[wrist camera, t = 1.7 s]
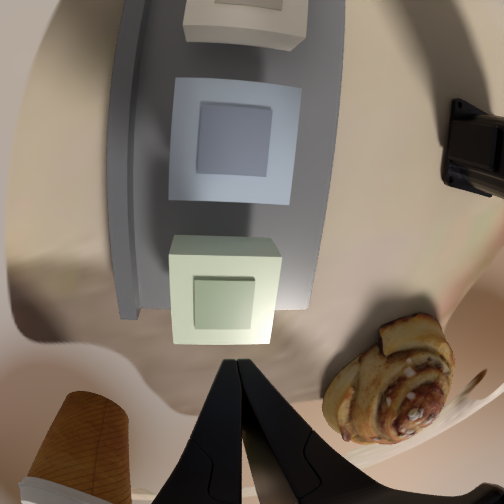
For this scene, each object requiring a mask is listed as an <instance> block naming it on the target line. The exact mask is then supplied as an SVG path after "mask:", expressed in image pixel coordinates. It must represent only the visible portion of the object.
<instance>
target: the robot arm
mask: <svg viewBox="0 0 504 504" xmlns="http://www.w3.org/2000/svg"><path fill="white" fill-rule="evenodd" d="M449 178H450V180H449ZM443 182H444V184H445V185H447V186H450V187H454V188H458V189H462V190H465V191H469V192H473V193H476V194H480V195H483V196H486V197H492V195H495V196H497V197H500V198H502V199H504V117H500V116H492V115H488V114H487V113H485V112H483V111H482V110H480V109H478V108H476V107H475V106H473V105H471V104H469V103H467V102H466V101H464V100H462V99H460V98H454V99H453V100H452V106H451V120H450V131H449V140H448V148H447V156H446V163H445V169H444V175H443ZM242 439H243V443H244V447H245V451H246V454H247V458H248V462H249V466H250V470H251V473H252V477H253V481H254V484H255V488H256V492H257V495H258V498H259V502H260V504H504V488H503V487H501V486H499V485H496V484H490V483H482V484H481V485H479V486H478V487H476V488H475V489H474V490H472V491H471V492H469V493H467V494H465V495H461V496H454V497H450V496H437V495H428V494H420V493H413V492H406V491H401V490H395V489H392V488H389V487H386V486H384V485H382V484H380V483H378V482H376V481H375V480H373V479H372V478H371V477H369V476H368V475H366V474H365V473H364V472H362V471H361V470H360V469H358V468H357V467H355V466H354V465H353V464H351V463H350V462H349V461H347V460H346V459H345V458H344V457H342V456H341V455H340V454H339V453H337V452H336V451H335V450H334V449H332V447H330V446H329V445H328V444H327V443H326V442H325V441H324V440H323V439H322V438H321V437H320V436H319V435H318V434H317V433H316V432H315V431H314V430H312V428H311V427H310V426H309V425H308V424H307V422H306V421H305V420H304V419H303V418H302V417H301V416H300V415H299V414H298V413H297V412H296V410H295V409H294V408H293V407H292V406H291V405H290V404H289V403H288V402H287V401H286V400H285V398H284V397H283V396H282V395H281V394H280V393H279V392H278V391H277V389H276V388H275V387H274V386H273V385H272V384H271V383H270V382H269V380H268V379H267V378H266V377H265V376H264V375H263V373H262V372H261V371H260V370H259V369H258V368H257V366H256V365H255V364H254V363H253V362H252V361H251V360H250V359H237V361H236V360H235V359H224V360H222V363H221V365H220V367H219V370H218V372H217V375H216V377H215V379H214V382H213V384H212V386H211V389H210V391H209V394H208V396H207V398H206V401H205V403H204V405H203V408H202V410H201V412H200V415H199V417H198V420H197V422H196V424H195V427H194V429H193V431H192V434H191V436H190V439H189V440H188V442H187V445H186V447H185V449H184V451H183V454H182V455H181V458H180V460H179V462H178V464H177V465H176V467H175V469H174V470H173V472H172V473H171V475H170V477H169V478H168V480H167V481H166V483H165V484H164V486H163V487H162V489H161V490H160V492H159V493H158V495H157V496H156V498H155V499H154V500H153V502H152V503H151V504H242Z"/></svg>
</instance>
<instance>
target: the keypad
mask: <svg viewBox="0 0 504 504" xmlns="http://www.w3.org/2000/svg"><path fill="white" fill-rule="evenodd" d="M186 2H187V0H125V4H124V8H123V13H122V18H121V23H120V28H119V33H118V39H117V45H116V51H115V58H114V65H113V73H112V82H111V91H110V103H109V117H108V137H107V197H108V218H109V233H110V245H111V255H112V264H113V273H114V281H115V288H116V295H117V301H118V308H119V314H120V319H126V320H138V316H139V313H140V310H141V308H147V309H171V299H170V278H169V252H170V248H171V245H172V241H173V238H174V235H202V236H236V237H266V238H272V240H273V242H274V244H275V245H276V247H277V249H278V250H279V252H280V254H281V256H282V263H281V270H280V277H279V284H278V291H277V298H276V304H275V310H297V309H308V305H309V300H310V296H311V291H312V286H313V281H314V276H315V271H316V265H317V260H318V255H319V249H320V244H321V238H322V232H323V226H324V220H325V214H326V208H327V201H328V195H329V188H330V181H331V174H332V166H333V159H334V151H335V142H336V134H337V125H338V115H339V105H340V94H341V81H342V68H343V52H344V31H345V0H308V16H307V31H306V38H305V39H304V40H303V41H302V42H300V43H299V44H298V45H297V46H296V47H295V48H293V49H292V50H291V51H285V50H279V49H272V48H265V47H257V46H248V45H238V44H226V43H209V42H186V38H185V33H184V29H183V19H184V13H185V8H186ZM176 78H214V79H230V80H242V81H252V82H261V83H269V84H277V85H284V86H291V87H297V88H302V92H301V103H300V113H299V123H298V133H297V142H296V151H295V160H294V169H293V178H292V186H291V195H290V203H289V205H279V204H262V203H243V202H220V201H189V200H168V198H169V162H170V142H171V126H172V112H173V100H174V89H175V79H176Z"/></svg>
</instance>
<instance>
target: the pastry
mask: <svg viewBox="0 0 504 504" xmlns="http://www.w3.org/2000/svg"><path fill="white" fill-rule="evenodd" d="M379 333H380V336H381V337H380V339H379V340H378V342H377V343H376V344H375V345H374V346H372V347H371V348H370V349H369V350H367V351H365V352H364V353H362V354H361V355H359V356H357V357H356V358H355V359H354V360H353V361H352V362H351V363H350V364H348V365H347V366H346V367H345V368H344V369H342V370H341V371H340V372H339V373H338V374H337V375H336V376H335V377H334V379H333V380H332V382H331V383H330V385H329V387H328V388H327V390H326V392H325V395H324V397H323V404H322V411H323V415H324V417H325V419H326V421H327V423H328V424H329V426H330V427H331V428H332V429H333V430H335V431H336V432H337V433H340V434H341V435H342V438H343V440H344V441H347V442H349V441H350V440H351V441H353V442H355V443H358V444H363V445H368V444H374V443H379V444H396V443H399V442H401V441H403V440H406V439H409V438H410V437H412V436H414V435H415V434H417V433H418V432H419V431H421V430H422V429H423V428H424V427H427V426H429V425H430V424H432V423H433V422H434V421H435V420H436V419H437V418H438V416H439V414H440V411H441V409H444V404H445V401H446V398H447V396H448V393H449V391H450V386H451V383H452V376H453V372H454V367H455V358H454V355H453V351H452V349H451V347H450V346H449V344H448V342H447V341H446V339H445V336H444V334H443V332H442V329H441V326H440V324H439V323H438V321H437V320H436V319H434V318H433V317H432V316H431V315H428V314H424V313H416V314H413V315H411V316H409V317H402V318H399V319H397V320H395V321H392V322H389V323H386V324H384V325H383V326H381V327H380V330H379Z"/></svg>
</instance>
